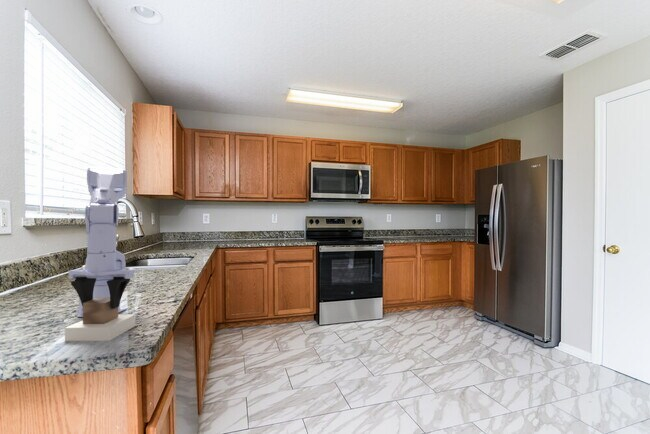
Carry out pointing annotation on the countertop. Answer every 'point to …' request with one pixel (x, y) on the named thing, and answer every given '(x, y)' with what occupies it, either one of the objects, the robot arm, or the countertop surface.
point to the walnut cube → (98, 311)
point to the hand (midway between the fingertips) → (101, 307)
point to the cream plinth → (100, 329)
